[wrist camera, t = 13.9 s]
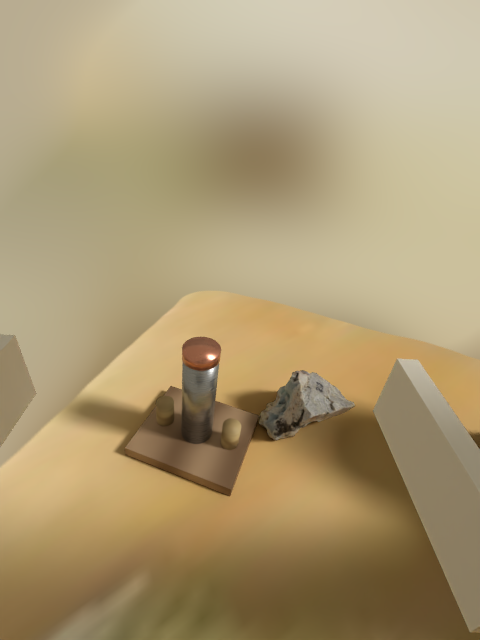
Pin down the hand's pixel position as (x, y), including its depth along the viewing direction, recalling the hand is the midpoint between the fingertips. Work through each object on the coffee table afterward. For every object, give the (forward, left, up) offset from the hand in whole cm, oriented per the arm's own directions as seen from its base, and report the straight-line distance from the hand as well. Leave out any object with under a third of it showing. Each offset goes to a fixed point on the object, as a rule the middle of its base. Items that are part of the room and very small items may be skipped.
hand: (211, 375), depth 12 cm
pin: (+6, -14, -23) cm, 28 cm away
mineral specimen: (-5, -22, -25) cm, 33 cm away
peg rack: (+6, -14, -25) cm, 29 cm away
